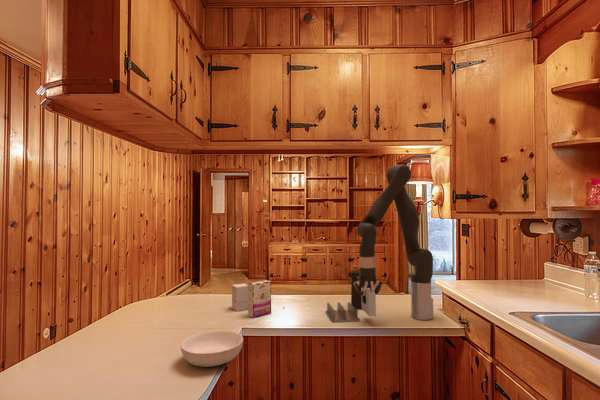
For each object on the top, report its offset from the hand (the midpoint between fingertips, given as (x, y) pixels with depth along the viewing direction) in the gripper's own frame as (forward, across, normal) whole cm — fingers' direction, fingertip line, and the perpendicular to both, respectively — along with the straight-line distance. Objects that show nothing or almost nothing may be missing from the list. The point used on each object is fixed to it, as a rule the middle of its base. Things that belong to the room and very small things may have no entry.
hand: (368, 303), depth 159 cm
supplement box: (+8, +61, -30) cm, 68 cm away
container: (+9, -2, -25) cm, 27 cm away
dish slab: (+4, 0, 0) cm, 4 cm away
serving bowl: (+8, +66, +33) cm, 75 cm away
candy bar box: (+8, +50, -18) cm, 54 cm away
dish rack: (+9, +10, -10) cm, 17 cm away
